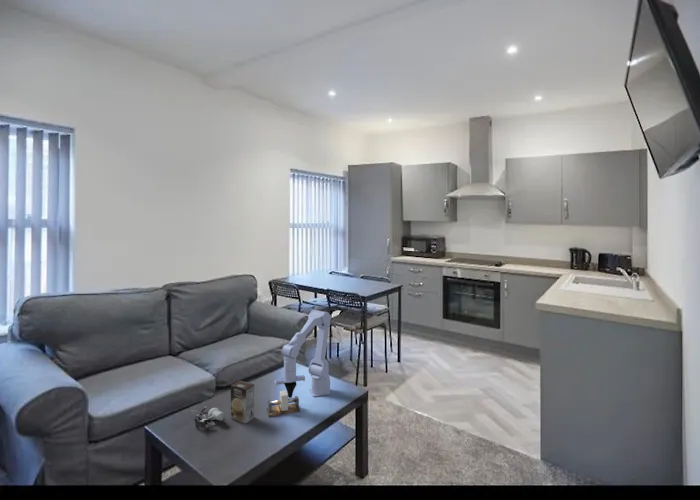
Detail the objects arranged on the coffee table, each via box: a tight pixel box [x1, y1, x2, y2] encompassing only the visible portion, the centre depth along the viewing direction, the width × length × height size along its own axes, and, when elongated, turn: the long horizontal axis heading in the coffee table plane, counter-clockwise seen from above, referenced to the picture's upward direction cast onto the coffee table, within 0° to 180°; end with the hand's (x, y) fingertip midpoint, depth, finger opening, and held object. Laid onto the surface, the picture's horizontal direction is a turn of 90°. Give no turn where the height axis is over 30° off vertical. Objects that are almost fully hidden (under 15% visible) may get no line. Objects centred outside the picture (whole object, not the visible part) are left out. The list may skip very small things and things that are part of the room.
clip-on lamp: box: [191, 406, 225, 429], centre depth 170 cm, size 12×6×18 cm
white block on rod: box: [279, 389, 289, 411], centre depth 180 cm, size 3×5×7 cm, turn 21°
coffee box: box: [230, 379, 255, 424], centre depth 173 cm, size 9×6×16 cm
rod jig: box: [266, 395, 301, 418], centre depth 180 cm, size 15×7×6 cm, turn 111°
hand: (289, 396), depth 181 cm, fingers closed
